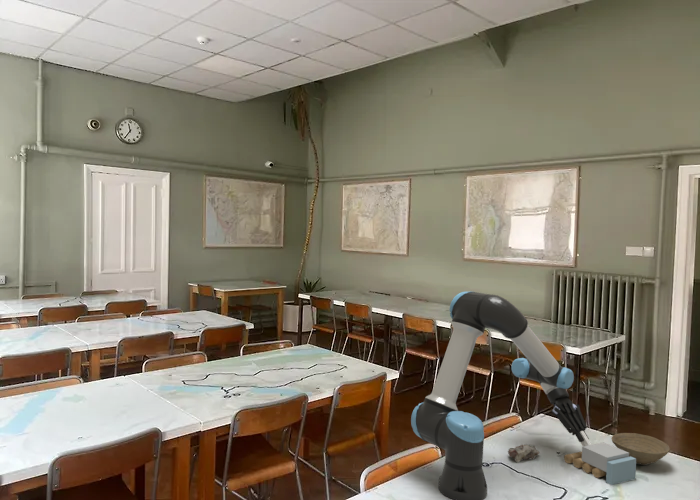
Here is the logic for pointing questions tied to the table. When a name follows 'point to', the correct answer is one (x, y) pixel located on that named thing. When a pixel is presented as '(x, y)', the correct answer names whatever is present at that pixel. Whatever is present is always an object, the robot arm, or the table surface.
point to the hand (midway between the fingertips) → (589, 449)
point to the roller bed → (583, 464)
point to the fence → (621, 470)
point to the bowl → (641, 447)
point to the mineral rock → (523, 452)
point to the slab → (601, 454)
